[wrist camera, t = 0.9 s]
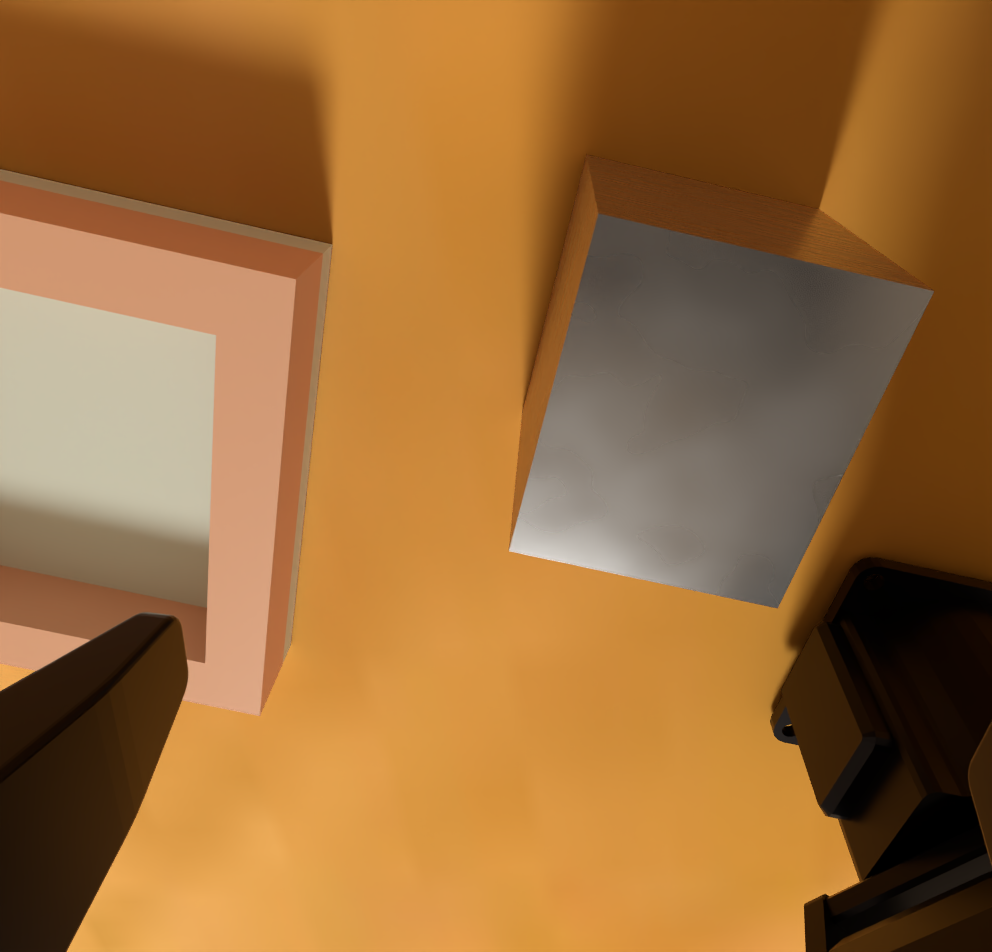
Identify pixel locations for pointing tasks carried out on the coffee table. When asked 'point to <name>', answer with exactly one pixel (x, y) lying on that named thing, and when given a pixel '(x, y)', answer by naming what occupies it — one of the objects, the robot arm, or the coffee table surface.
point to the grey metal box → (701, 382)
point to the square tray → (154, 429)
